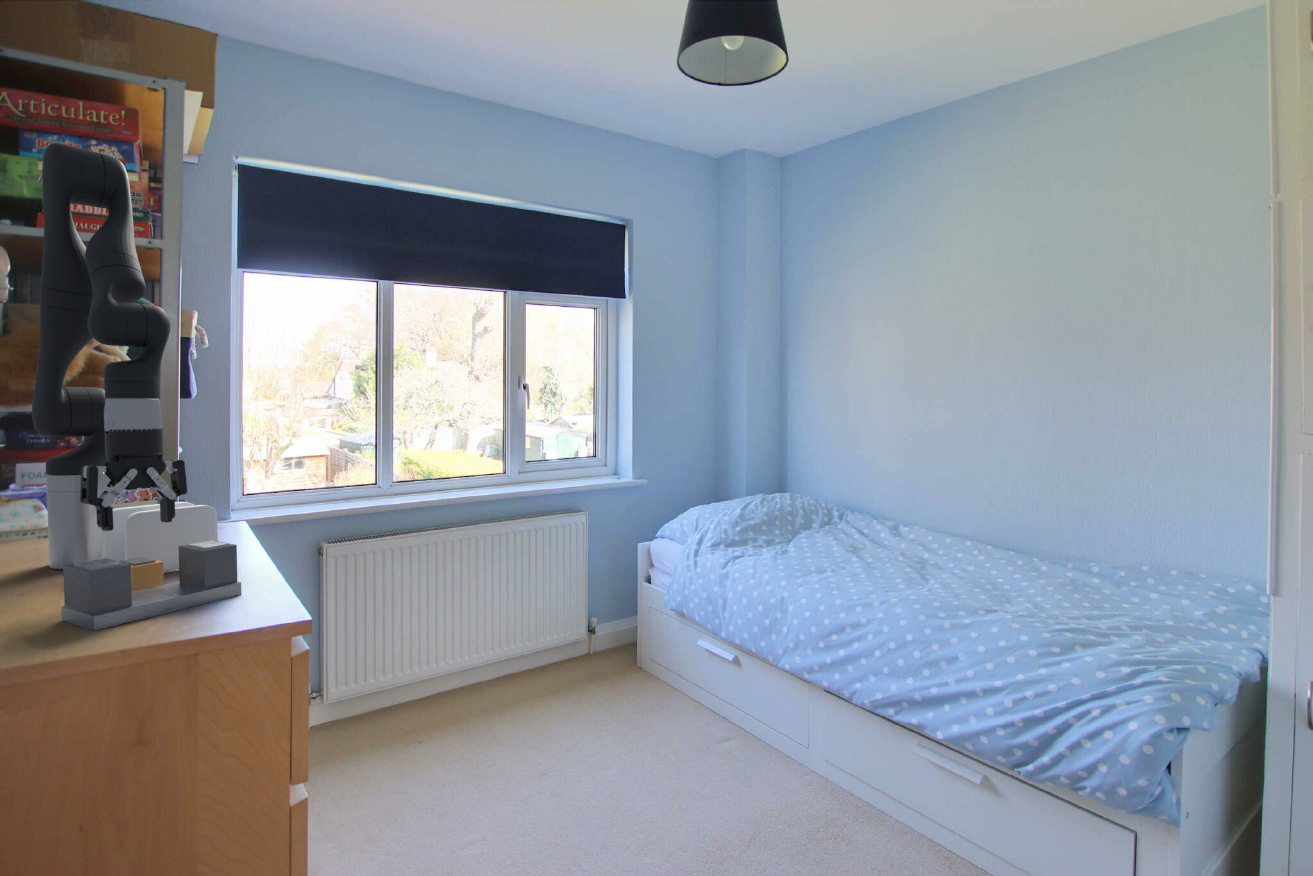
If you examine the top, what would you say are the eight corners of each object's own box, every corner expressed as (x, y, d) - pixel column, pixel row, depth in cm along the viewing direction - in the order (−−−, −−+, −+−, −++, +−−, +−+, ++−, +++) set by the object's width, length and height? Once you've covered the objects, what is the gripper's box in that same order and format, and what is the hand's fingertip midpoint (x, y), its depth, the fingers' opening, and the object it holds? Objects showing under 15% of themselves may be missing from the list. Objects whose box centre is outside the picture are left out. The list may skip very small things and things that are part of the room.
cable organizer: (122, 582, 117) (120, 514, 117) (101, 572, 123) (99, 508, 123) (219, 565, 130) (217, 504, 129) (195, 557, 136) (193, 499, 135)
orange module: (113, 591, 112) (112, 561, 112) (144, 584, 116) (143, 555, 116) (133, 596, 109) (132, 565, 109) (164, 589, 113) (163, 559, 113)
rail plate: (61, 620, 97) (59, 563, 96) (208, 586, 115) (207, 538, 114) (94, 631, 93) (92, 571, 92) (241, 594, 111) (240, 544, 110)
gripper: (168, 425, 119) (172, 518, 120) (68, 427, 106) (73, 531, 107) (193, 425, 116) (197, 521, 116) (93, 428, 103) (97, 535, 104)
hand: (137, 526), depth 112 cm, fingers open, 8 cm apart
